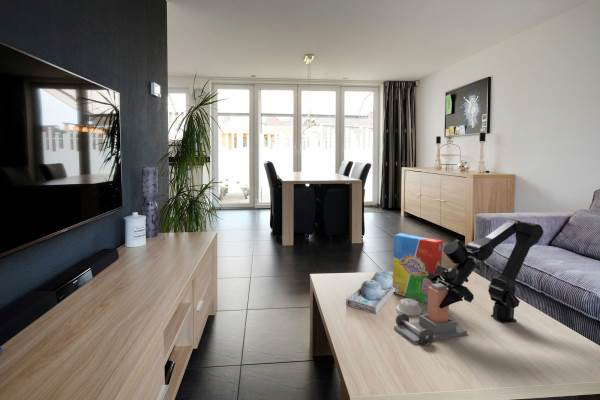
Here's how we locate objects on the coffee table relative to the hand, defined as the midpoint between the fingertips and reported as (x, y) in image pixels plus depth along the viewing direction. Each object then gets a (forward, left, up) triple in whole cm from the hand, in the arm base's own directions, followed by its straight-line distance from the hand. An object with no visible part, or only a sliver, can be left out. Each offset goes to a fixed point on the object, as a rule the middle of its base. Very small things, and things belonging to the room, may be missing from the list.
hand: (435, 304), depth 138 cm
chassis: (+2, 0, -10) cm, 10 cm away
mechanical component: (+1, -18, -10) cm, 21 cm away
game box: (-8, -32, -10) cm, 35 cm away
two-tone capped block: (-1, 0, -7) cm, 7 cm away
